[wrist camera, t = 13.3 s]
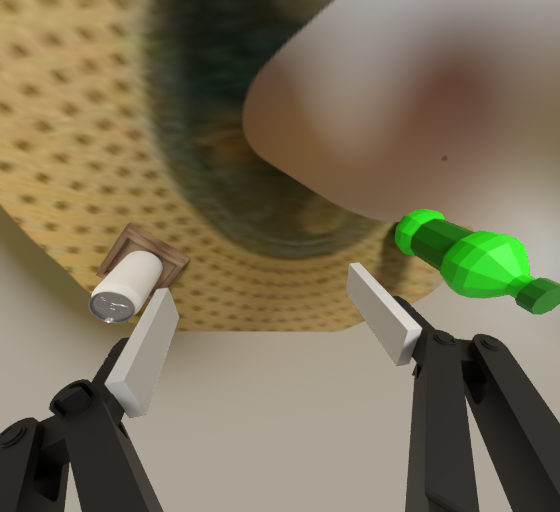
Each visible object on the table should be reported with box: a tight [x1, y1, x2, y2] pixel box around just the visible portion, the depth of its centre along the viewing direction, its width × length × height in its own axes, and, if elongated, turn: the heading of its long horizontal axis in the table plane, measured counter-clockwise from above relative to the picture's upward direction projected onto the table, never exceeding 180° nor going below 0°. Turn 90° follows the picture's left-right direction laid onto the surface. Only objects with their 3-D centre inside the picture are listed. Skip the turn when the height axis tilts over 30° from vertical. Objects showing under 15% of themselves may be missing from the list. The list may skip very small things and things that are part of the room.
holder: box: [97, 223, 190, 300], centre depth 41 cm, size 12×12×2 cm
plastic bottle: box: [394, 209, 560, 314], centre depth 37 cm, size 10×10×25 cm
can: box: [88, 251, 163, 323], centre depth 36 cm, size 6×6×12 cm
